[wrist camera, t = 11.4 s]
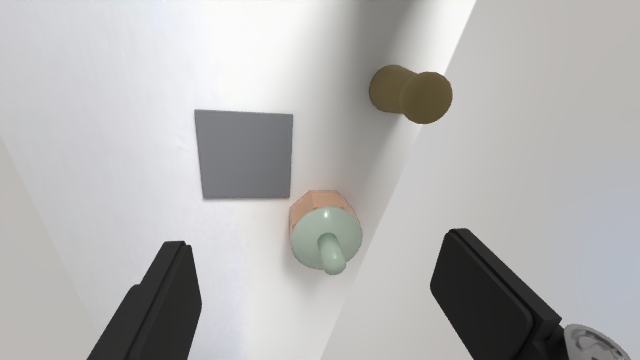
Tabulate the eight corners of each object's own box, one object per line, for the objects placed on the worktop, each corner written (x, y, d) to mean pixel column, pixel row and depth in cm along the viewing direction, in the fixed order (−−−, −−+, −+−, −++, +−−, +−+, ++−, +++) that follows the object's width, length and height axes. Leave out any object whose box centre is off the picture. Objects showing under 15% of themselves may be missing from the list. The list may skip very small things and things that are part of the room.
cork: (363, 106, 37) (396, 124, 27) (377, 59, 35) (418, 60, 25) (403, 116, 39) (448, 136, 29) (418, 71, 36) (473, 76, 26)
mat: (195, 109, 34) (194, 110, 33) (292, 114, 36) (292, 115, 36) (204, 195, 39) (203, 197, 38) (289, 195, 41) (289, 197, 40)
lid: (291, 206, 36) (295, 233, 31) (364, 205, 38) (380, 230, 32) (289, 266, 40) (292, 299, 35) (355, 262, 42) (368, 293, 36)
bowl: (291, 190, 41) (293, 207, 36) (353, 190, 42) (363, 206, 38) (288, 243, 44) (290, 265, 40) (346, 242, 46) (354, 262, 42)
